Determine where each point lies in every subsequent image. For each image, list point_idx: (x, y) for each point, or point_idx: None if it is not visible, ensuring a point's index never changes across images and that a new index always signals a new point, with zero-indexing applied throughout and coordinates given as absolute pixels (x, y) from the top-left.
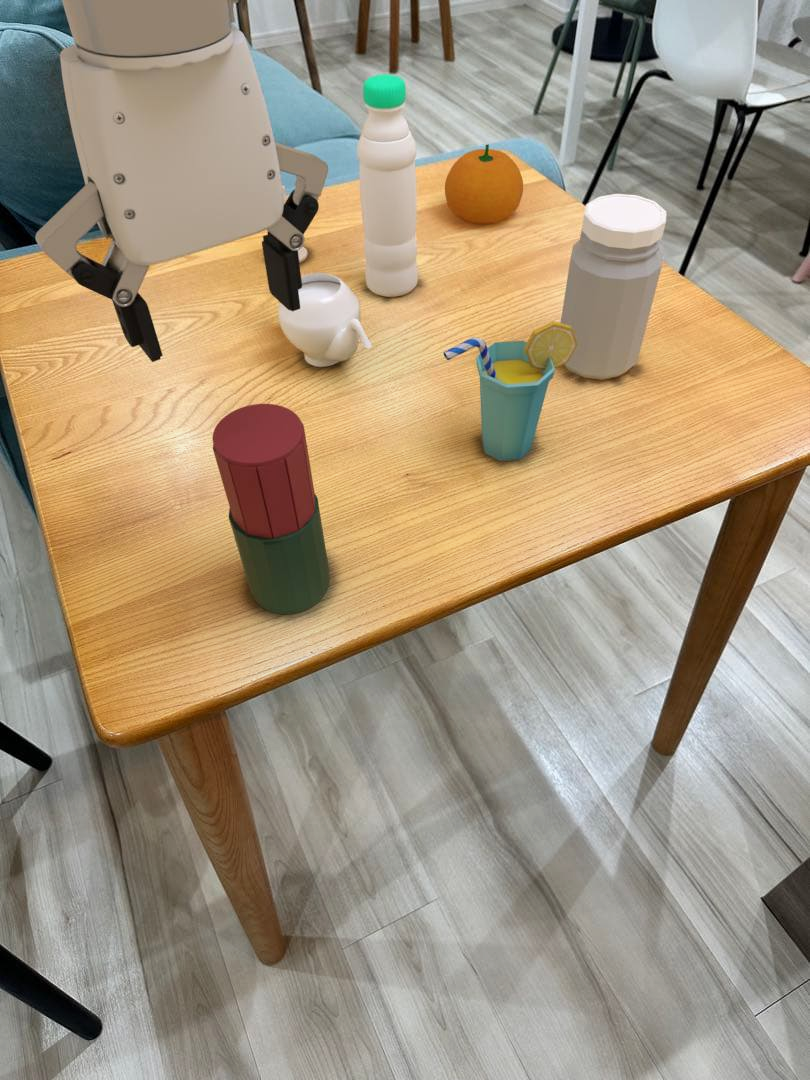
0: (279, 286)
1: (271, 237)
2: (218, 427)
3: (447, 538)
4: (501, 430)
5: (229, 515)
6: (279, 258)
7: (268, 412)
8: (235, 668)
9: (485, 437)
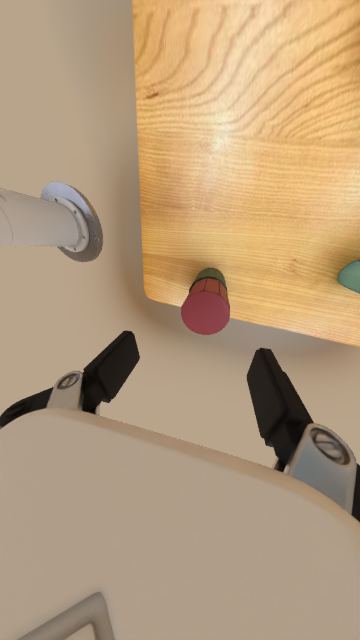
0: (255, 382)
1: (284, 442)
2: (189, 299)
3: (269, 301)
4: (354, 287)
5: (190, 288)
6: (263, 429)
7: (218, 306)
8: (179, 300)
9: (348, 274)
